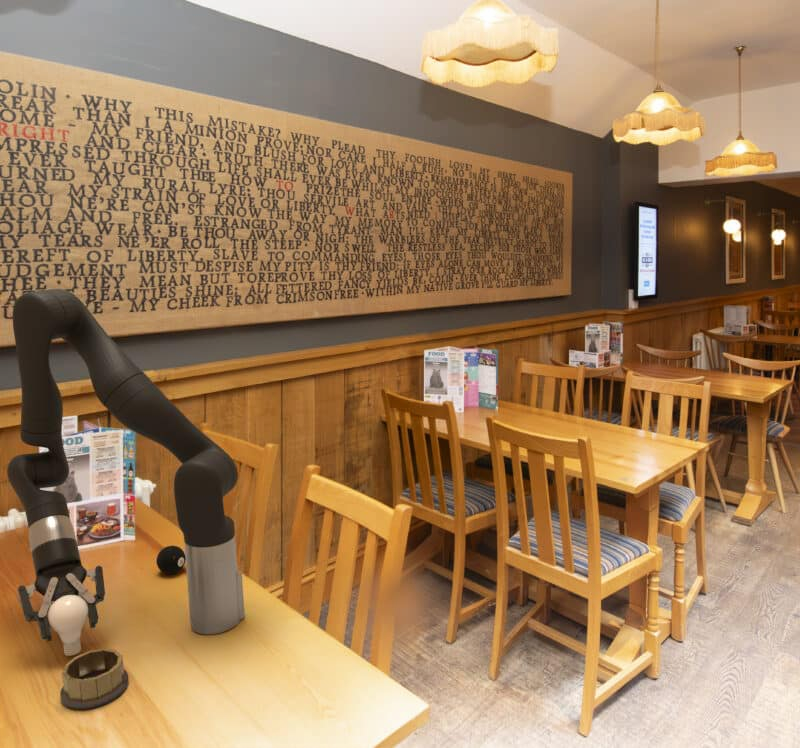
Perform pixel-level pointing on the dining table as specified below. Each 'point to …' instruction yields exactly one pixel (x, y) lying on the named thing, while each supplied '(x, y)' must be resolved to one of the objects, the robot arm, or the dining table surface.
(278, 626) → the dining table surface
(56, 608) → the lightbulb
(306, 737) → the dining table surface
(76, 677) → the bulb holder
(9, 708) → the dining table surface
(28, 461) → the robot arm
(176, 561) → the billiard ball
